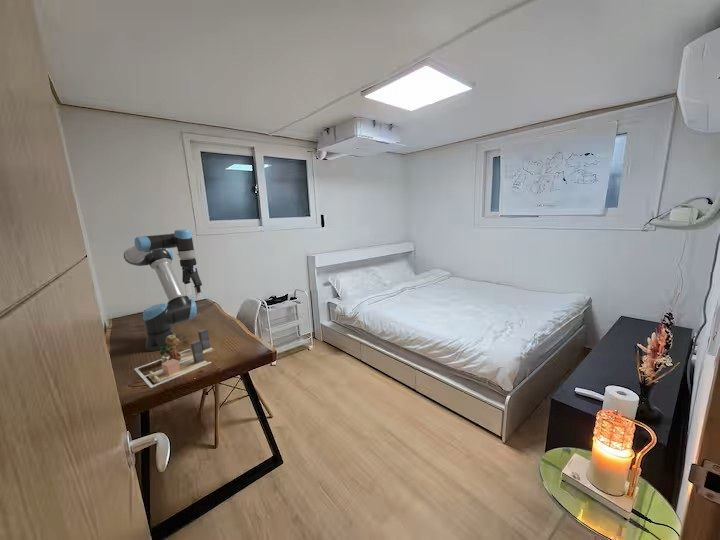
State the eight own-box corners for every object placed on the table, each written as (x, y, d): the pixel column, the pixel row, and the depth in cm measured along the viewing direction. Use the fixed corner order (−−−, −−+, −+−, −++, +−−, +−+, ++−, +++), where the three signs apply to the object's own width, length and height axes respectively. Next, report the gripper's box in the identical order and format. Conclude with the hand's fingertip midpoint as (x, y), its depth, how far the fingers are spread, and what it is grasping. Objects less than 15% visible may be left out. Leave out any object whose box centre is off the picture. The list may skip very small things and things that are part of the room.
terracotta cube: (163, 373, 133) (161, 363, 132) (174, 368, 138) (172, 358, 137) (169, 376, 131) (167, 365, 130) (180, 370, 135) (178, 360, 134)
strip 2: (148, 378, 132) (143, 356, 130) (199, 358, 148) (195, 338, 146) (156, 386, 125) (151, 363, 123) (208, 364, 141) (204, 343, 139)
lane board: (134, 371, 139) (133, 368, 139) (190, 350, 158) (190, 348, 158) (151, 390, 122) (150, 387, 122) (211, 364, 141) (211, 362, 141)
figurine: (181, 357, 151) (176, 330, 148) (185, 362, 145) (179, 334, 142) (160, 364, 144) (155, 336, 142) (163, 369, 139) (157, 340, 136)
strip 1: (160, 362, 146) (156, 342, 144) (205, 345, 163) (202, 327, 161) (168, 368, 139) (163, 347, 137) (214, 350, 156) (211, 331, 154)
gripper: (171, 258, 160) (178, 295, 164) (188, 261, 144) (196, 301, 148) (186, 256, 165) (192, 292, 169) (204, 258, 149) (211, 298, 153)
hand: (194, 296), depth 159 cm, fingers open, 13 cm apart
